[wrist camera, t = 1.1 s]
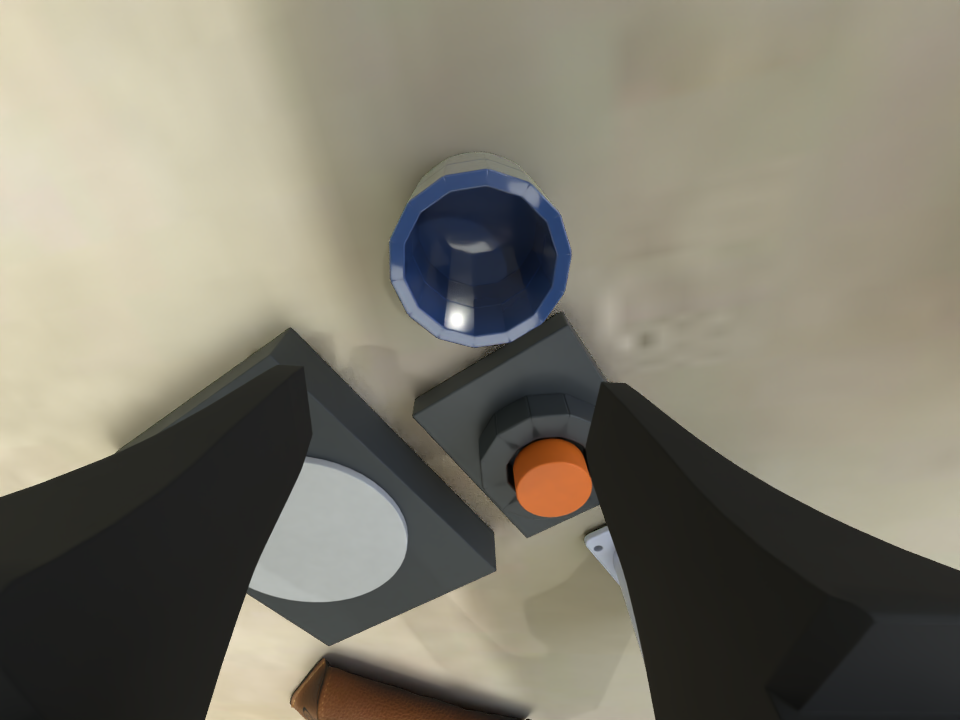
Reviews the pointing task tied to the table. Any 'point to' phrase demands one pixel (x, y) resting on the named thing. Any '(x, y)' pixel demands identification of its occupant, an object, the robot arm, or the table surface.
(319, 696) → the sunglasses case
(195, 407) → the scale
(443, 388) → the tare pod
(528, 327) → the blue cup
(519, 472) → the button
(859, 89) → the table surface
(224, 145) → the table surface
